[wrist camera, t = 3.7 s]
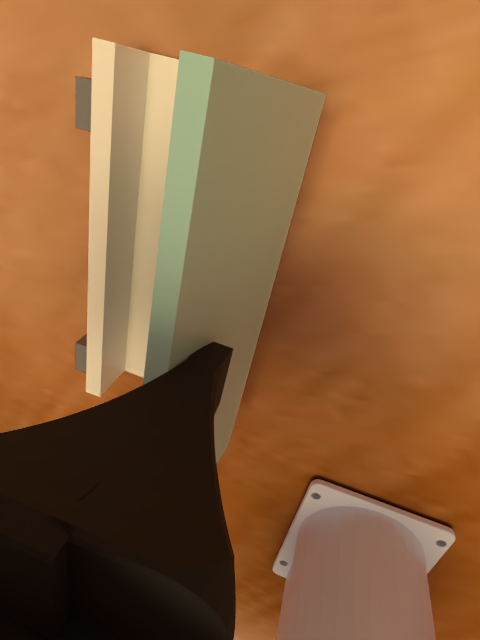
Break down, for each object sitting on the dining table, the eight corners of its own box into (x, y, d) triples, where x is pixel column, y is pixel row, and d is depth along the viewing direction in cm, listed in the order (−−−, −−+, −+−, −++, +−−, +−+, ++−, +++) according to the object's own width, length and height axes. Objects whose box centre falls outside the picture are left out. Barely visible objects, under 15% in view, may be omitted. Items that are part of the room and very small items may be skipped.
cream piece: (232, 401, 22) (215, 440, 19) (107, 356, 23) (75, 387, 20) (315, 92, 14) (304, 88, 12) (123, 46, 15) (75, 33, 13)
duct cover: (217, 440, 19) (228, 446, 19) (121, 572, 14) (136, 582, 13) (307, 89, 12) (326, 93, 12) (180, 50, 6) (214, 58, 6)
